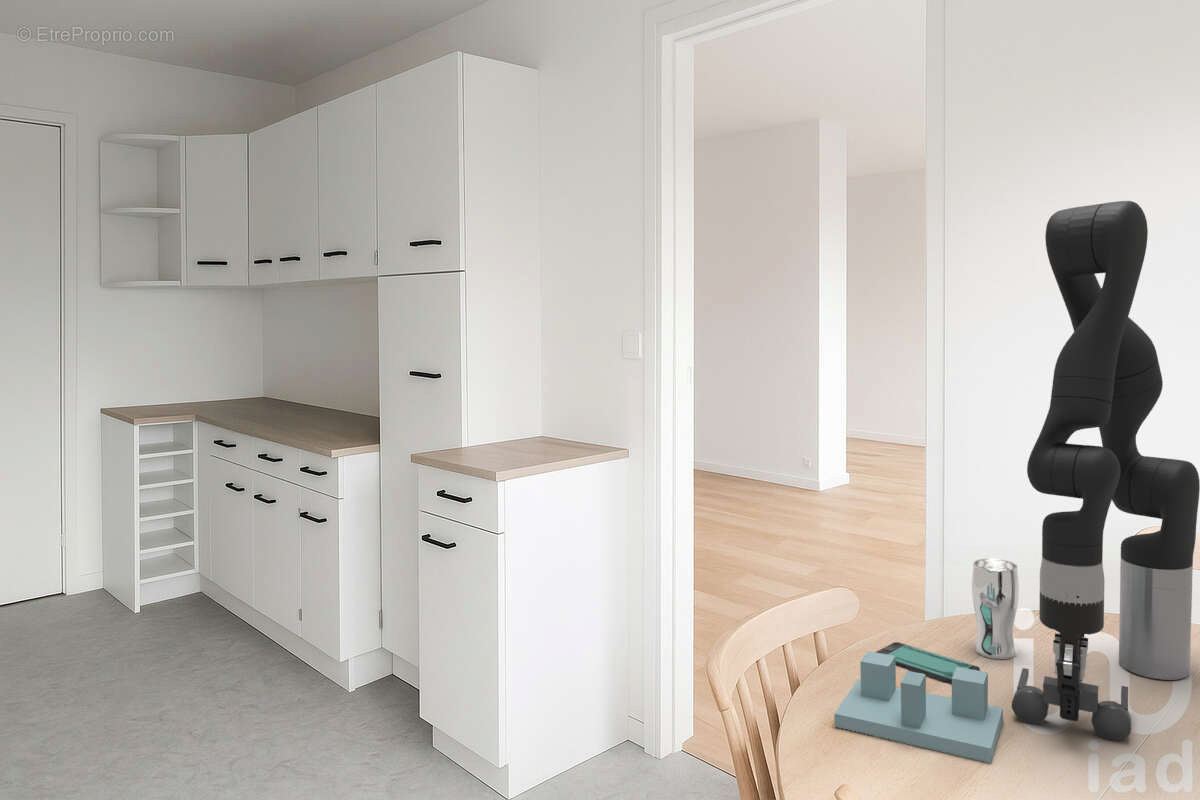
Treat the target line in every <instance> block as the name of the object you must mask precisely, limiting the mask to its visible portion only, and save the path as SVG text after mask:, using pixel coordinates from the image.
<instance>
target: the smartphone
mask: <svg viewBox="0 0 1200 800" xmlns="http://www.w3.org/2000/svg"><path fill="white" fill-rule="evenodd" d="M875 652H876V653H882V654H887V655H893V656H895V662H896V667H899V668H902V669H905V670H907V671H911V672H917V673H922V674H926V678H930V679H933V680H936V681H939V682H941V683H945V684H949V685H952V677H953V674H954V672H955V670H956V668H957V667H960V668H966V669H971V670H977V671H981V669H980V667H979V666H977V665H974V664H971V663H968V662H964V661H960V660H957V659H955V658H951V657H947V656H944V655H941V654H938V653H934V652H931V651H928V650H924V649H921V648H919V647H914V646H912V645H908V644H905V643H902V642H898V641H897V642H896V641H895V642H892V643H890V644H889V645H886V646H885V647H882V648H880V649H878V650H876V651H875Z"/></svg>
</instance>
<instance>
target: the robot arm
mask: <svg viewBox="0 0 1200 800" xmlns="http://www.w3.org/2000/svg"><path fill="white" fill-rule="evenodd" d="M1045 226H1046V228H1045V238H1044V239H1045V248H1046V249H1045V250H1046V253H1047V257H1048V261H1049V265H1050V267H1051V270H1052V273H1053V276H1054V279H1055V280H1056V283H1057V286H1058V290H1059V291H1060V294H1061V297H1062V299H1063V302H1064V306H1065V307H1066V310H1067V313H1068V315H1069V319H1070V322H1071V326H1072V329H1073V332H1072V334H1071V335H1070V337H1069V338H1068V340H1067V341H1066V342H1065V344H1064V345H1063V346H1062V349H1061V351H1060V352H1059V355H1058V357H1057V359H1056V362H1055V365H1054V370H1053V377H1052V378H1053V379H1052V387H1051V395H1050V402H1049V403H1050V404H1049V408H1048V411H1047V415H1046V418H1045V420H1044V423H1043V425H1042V428H1041V430H1040V433H1039V435H1038V438H1037V439H1036V441H1035V443H1034V446H1033V448H1032V449H1031V451H1030V455H1029V457H1028V461H1027V465H1026V466H1027V467H1026V473H1027V478H1028V481H1029V483H1030V484H1031V486H1032V488H1033V489H1034V490H1036V491H1037V492H1039V493H1041V494H1044V495H1049V496H1050V495H1051V496H1060V497H1065V498H1066V497H1067V498H1073V499H1082V505H1081V507H1080V509H1078V510H1074V511H1072V510H1071V511H1057V512H1051V513H1050V514H1047V515H1046V516H1045V517H1044V519H1043V520H1042V526H1041V532H1042V533H1041V537H1042V538H1041V564H1040V569H1039V611H1038V612H1039V614H1038V615H1039V620H1040V622H1041V624H1042V625H1043V626H1045V627H1047V628H1048V629H1051V630H1054V631H1056V632H1055V633H1054V639H1053V643H1052V646H1053V647H1052V652H1053V654H1054V673H1055V675H1056V678H1057V681H1058V686H1057V690H1058V693H1060V706H1059V717H1060V718H1061V719H1063V720H1067V721H1072V722H1078V721H1079V718H1080V710H1079V696H1080V694H1081V689H1080V683H1082V682H1083V680H1084V678H1085V674H1086V672H1085V671H1086V667H1087V666H1086V665H1087V664H1086V663H1087V662H1086V661H1087V657H1088V649H1089V637H1086V636H1085V635H1094V634H1095V635H1096V634H1097V633H1100V632H1101V631H1103V629H1104V626H1105V624H1104V623H1105V574H1104V567H1103V566H1104V565H1103V552H1104V551H1103V547H1104V546H1103V545H1104V544H1103V543H1104V542H1103V541H1104V531H1105V530H1104V529H1105V525H1106V522H1107V521H1106V520H1107V516H1108V513H1109V509H1110V507H1111V503H1112V502H1113V504H1114V506H1115V507H1116V508H1117V509H1118V510H1119V511H1121V512H1124V513H1125V514H1130V515H1137V516H1142V517H1148V518H1153V519H1159V520H1161V525H1160V529H1159V530H1157V531H1155V532H1149V533H1141V534H1135V535H1131V536H1128V537H1125V538H1124V539H1123V540H1122V541H1121V544H1120V562H1119V563H1120V564H1119V565H1120V569H1119V570H1120V571H1119V572H1120V573H1119V575H1120V578H1119V579H1120V581H1119V582H1120V583H1119V584H1120V585H1119V627H1118V628H1119V631H1118V636H1119V637H1118V664H1119V666H1120V667H1122V668H1123V669H1125V670H1127V671H1128V672H1131V673H1133V674H1135V675H1139V676H1141V677H1146V678H1150V679H1156V680H1163V681H1164V680H1167V681H1168V680H1169V681H1172V680H1174V681H1175V680H1176V681H1178V680H1182V679H1185V678H1188V677H1189V676H1190V672H1191V671H1190V670H1191V669H1190V668H1191V641H1192V639H1191V638H1192V634H1191V633H1192V608H1193V607H1192V606H1193V573H1194V572H1193V569H1194V568H1193V566H1194V553H1195V545H1196V537H1197V522H1198V512H1199V511H1198V509H1199V503H1200V502H1199V501H1200V476H1199V472H1198V469H1197V467H1196V466H1195V464H1193V462H1190V461H1187V460H1184V459H1183V460H1182V459H1176V458H1166V457H1156V456H1149V455H1148V456H1145V455H1142V454H1141V453H1140V452H1139V449H1138V445H1137V435H1138V432H1139V429H1140V427H1141V426H1142V424H1144V421H1145V420H1146V419H1147V417H1148V416H1149V415H1150V413H1151V412H1152V411H1153V409H1154V407H1155V405H1156V404H1157V402H1158V400H1159V398H1160V396H1161V394H1162V390H1163V387H1164V386H1163V385H1164V384H1163V377H1162V371H1161V367H1160V362H1159V357H1158V353H1157V350H1156V347H1155V345H1154V342H1153V341H1152V339H1151V338H1150V337H1149V335H1148V333H1146V332H1145V331H1144V330H1143V328H1141V327H1140V326H1139V324H1137V323H1136V322H1135V321H1134V320H1133V319H1132V318H1130V317H1129V315H1130V313H1131V308H1132V306H1133V302H1134V298H1135V295H1136V291H1137V288H1138V284H1139V281H1140V280H1139V279H1140V276H1141V271H1142V269H1143V266H1144V261H1145V256H1146V252H1147V245H1148V235H1149V233H1148V230H1149V229H1148V221H1147V217H1146V215H1145V212H1144V210H1143V209H1142V207H1141V206H1140V205H1139V204H1138V203H1137V202H1135V201H1131V200H1119V201H1117V200H1116V201H1111V202H1105V203H1096V204H1090V205H1083V206H1076V207H1069V208H1066V209H1060V210H1057V211H1056V212H1055V213H1053V214H1052V215H1051V216H1050V217H1049V219H1048V221H1047V223H1046V225H1045ZM1097 274H1104V280H1103V283H1102V287H1101V285H1100V283H1099V280H1098V278H1097V276H1096V275H1097ZM1095 428H1098V430H1099V434H1100V438H1101V445H1102V446H1099V445H1089V444H1077V443H1076V444H1075V443H1067V441H1068V440H1069V439H1070V438H1071V436H1072V435H1073V434H1074V433H1075V432H1078V431H1081V430H1087V429H1095ZM1057 632H1058V633H1057Z"/></svg>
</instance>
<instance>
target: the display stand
mask: <svg viewBox="0 0 1200 800" xmlns="http://www.w3.org/2000/svg"><path fill="white" fill-rule="evenodd" d="M876 652H877V651H869V650H867V651H866V653H865V654H864V656H863V657H862V659H860V678H859V679H857V680H856V681H855V682H854V684H853V686H852V687H851V688H850V690H849V692H848V693H847V694H846V695H845V697H844V699H843V700H842V702H841V703H840V705H839V706H838V708H837V709H836V710H835V712H834V714H833V715H834V727H835V728H836V727H839V728H838V729H841V728H844V729H843V730H845V729H849V730H852V731H851V732H854V731H858V732H861V733H860V734H862V733H865V734H864V735H867V734H870V735H869V736H871V735H874V736H873V737H875V736H878V737H877V738H880V737H882V738H881V739H884V738H885V740H888V739H889V741H893V742H897V743H902V744H907V745H911V746H915V747H920V748H924V749H928V750H932V751H936V752H940V753H944V754H949V755H952V756H953V755H954V756H959V757H962V758H966V759H970V760H975V761H979V762H984V763H988V764H991V763H992V760H993V757H994V755H995V754H994V753H995V750H996V746H997V744H998V743H997V742H998V740H999V737H1000V733H1001V730H1002V727H1003V723H1004V707H1001V706H995V705H990V704H989V700H988V699H989V672H987V671H982V670H980V671H977V670H971V669H966V668H960V667H957V668H956V670H955V672H954V674H953V677H952V684H951V697H950V696H946V695H940V694H934V693H929V692H927V688H926V687H927V686H926V685H927V683H926V681H927V679H926V678H927V676H926V674H922V673H917V672H912V671H910V670H907V671H906V672H905V675H904V676H903V678H902V679H901V682H900V687H898V686H897V684H896V683H897V681H896V680H897V679H896V678H897V675H896V673H897V672H896V667H897V666H896V662H895V656H893V655H887V654H882V653H876ZM849 730H848V731H849ZM853 730H854V731H853ZM858 732H857V733H858Z"/></svg>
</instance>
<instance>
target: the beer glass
mask: <svg viewBox="0 0 1200 800" xmlns="http://www.w3.org/2000/svg"><path fill="white" fill-rule="evenodd" d="M972 566H973V569H972V577H971V578H972V579H971V592H972V593H971V594H972V603H973V608H974V613H975V617H976V618H975V619H976V625H977V635H976V640H975V644H974V650H975V652H976V653H977V654H978V655H980V656H981V657H985V658H989V659H993V660H1010V659H1012V658H1014V657H1015V656H1016V648H1015V643H1014V635H1013V633H1014V626H1015V620H1016V615H1017V612H1018V611H1017V610H1018V605H1019V597H1020V593H1019V591H1020V589H1019V588H1020V587H1019V584H1020V583H1019V575H1018V573H1019V572H1018V565H1017V564H1016V563H1014V562H1013V561H1009V560H1005V559H999V558H980V559H977V560H975V561H973V565H972Z"/></svg>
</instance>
